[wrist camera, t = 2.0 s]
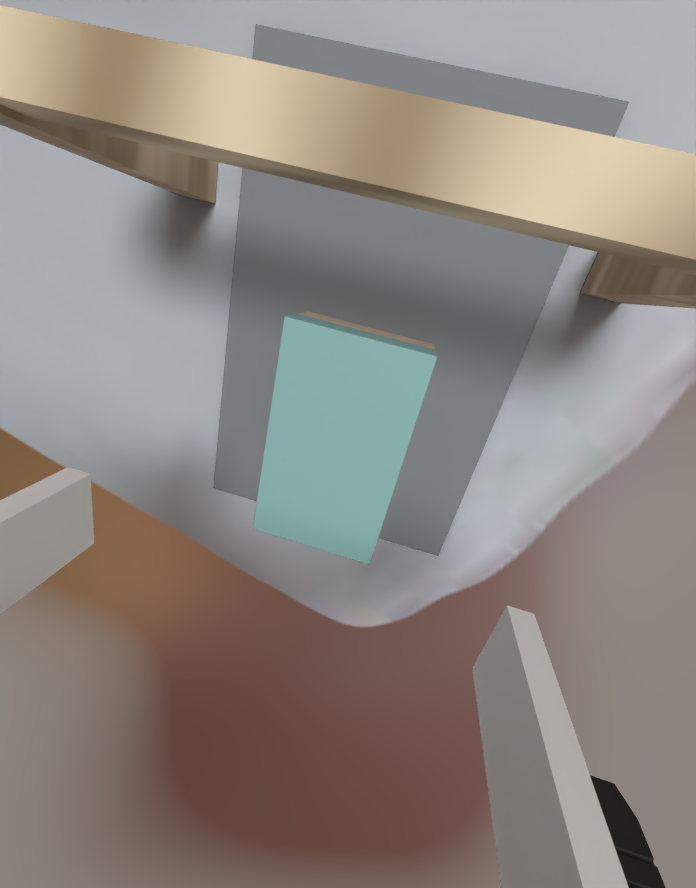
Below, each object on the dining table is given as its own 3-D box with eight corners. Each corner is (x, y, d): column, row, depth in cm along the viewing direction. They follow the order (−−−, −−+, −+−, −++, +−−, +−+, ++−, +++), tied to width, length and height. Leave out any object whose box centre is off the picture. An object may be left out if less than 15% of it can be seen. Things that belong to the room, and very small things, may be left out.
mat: (216, 485, 26) (213, 488, 26) (259, 29, 17) (255, 24, 16) (437, 552, 25) (438, 555, 25) (624, 106, 15) (629, 101, 15)
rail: (179, 194, 20) (-109, 81, 9) (181, 149, 19) (-133, -36, 8) (621, 303, 18) (916, 323, 7) (644, 258, 17) (1012, 207, 7)
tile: (276, 494, 25) (252, 528, 22) (308, 311, 20) (284, 316, 17) (376, 524, 25) (369, 564, 21) (434, 344, 20) (437, 356, 16)
